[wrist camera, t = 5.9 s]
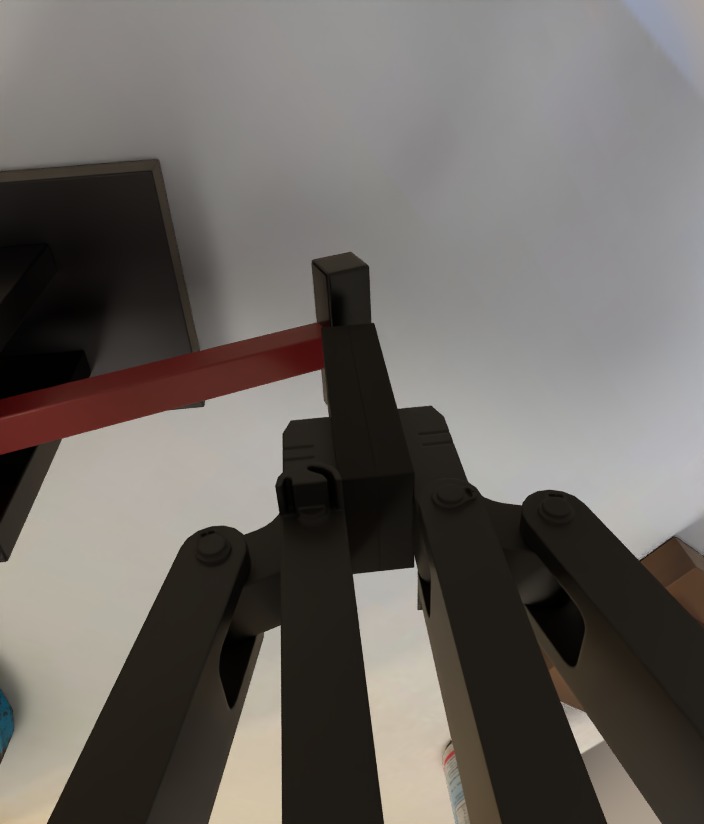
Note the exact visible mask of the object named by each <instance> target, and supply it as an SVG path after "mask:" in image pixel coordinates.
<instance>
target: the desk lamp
mask: <svg viewBox="0 0 704 824" xmlns="http://www.w3.org/2000/svg"><path fill="white" fill-rule="evenodd" d="M13 731H14V724H13V710H12V709H11V707H10V705H9V703H8V701H7V700H6V698H5V696H4V694H3V693H2V691H1V689H0V764H1V762H2V759H3V757H4V754H5V752H6V749H7V747H8V744H9V742H10V739H11V736H12V734H13Z"/></svg>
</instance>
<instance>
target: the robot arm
mask: <svg viewBox="0 0 704 824" xmlns="http://www.w3.org/2000/svg"><path fill="white" fill-rule="evenodd" d="M321 334H322V346H323V357H324V368H325V379H326V391H327V402H328V412H329V417H324V418H313V419H303V420H292V421H290V423H289V424H288V426H287V428H286V429H285V431H284V432H283V473H282V474H281V475H280V476H279V477H278V479H277V482H276V486H275V487H276V493H277V500H278V506H279V512H280V513H279V515H278V516H277V517H276V518H275V519H274V520H273V521H272V522H271V523H269V524H268V525H266V526H265V527H263V528H260V529H258V530H256V531H253V532H251V533H248V534H245V535H243V534H242V533H241V532H239V531H238V530H236V529H235V528H232V527H227V526H212V527H208V528H205V529H202V530H199V531H197V532H196V533H195V534H193V535H192V536H190V537H189V538H187V540H186V541H185V542H184V544H183V545H182V546H181V548H180V550H179V552H178V554H177V556H176V558H175V560H174V562H173V564H172V567H171V569H170V571H169V573H168V575H167V577H166V579H165V581H164V583H163V585H162V587H161V589H160V591H159V593H158V595H157V598H156V600H155V602H154V604H153V606H152V608H151V610H150V612H149V614H148V616H147V618H146V620H145V622H144V624H143V626H142V628H141V631H140V633H139V635H138V637H137V639H136V641H135V643H134V645H133V647H132V649H131V651H130V653H129V655H128V657H127V659H126V661H125V664H124V666H123V668H122V670H121V672H120V674H119V676H118V678H117V680H116V682H115V684H114V686H113V688H112V690H111V692H110V695H109V697H108V699H107V701H106V703H105V705H104V707H103V709H102V711H101V713H100V715H99V717H98V719H97V721H96V723H95V725H94V728H93V730H92V732H91V734H90V736H89V738H88V740H87V742H86V744H85V746H84V748H83V750H82V752H81V754H80V756H79V758H78V761H77V763H76V765H75V767H74V769H73V771H72V773H71V775H70V777H69V779H68V781H67V783H66V785H65V787H64V789H63V792H62V794H61V796H60V798H59V800H58V802H57V804H56V806H55V808H54V810H53V812H52V814H51V816H50V818H49V820H48V822H47V824H208V822H209V819H210V816H211V812H212V809H213V806H214V802H215V799H216V796H217V792H218V789H219V785H220V782H221V779H222V775H223V772H224V769H225V765H226V762H227V759H228V755H229V752H230V749H231V745H232V742H233V738H234V735H235V732H236V728H237V725H238V722H239V718H240V715H241V712H242V708H243V705H244V702H245V698H246V695H247V691H248V688H249V685H250V681H251V678H252V675H253V671H254V668H255V665H256V661H257V658H258V655H259V651H260V648H261V644H262V641H263V638H264V632H265V631H268V630H270V629H272V628H275V627H277V626H280V625H281V726H282V824H384V820H383V812H382V804H381V796H380V788H379V780H378V772H377V764H376V756H375V748H374V740H373V733H372V725H371V717H370V709H369V701H368V693H367V685H366V677H365V669H364V661H363V653H362V645H361V637H360V629H359V621H358V613H357V605H356V597H355V590H354V582H353V574H357V573H367V572H376V571H385V570H394V569H403V568H413V567H414V556H415V560H416V564H417V568H418V610H423V613H424V617H425V622H426V626H427V631H428V635H429V640H430V644H431V649H432V653H433V658H434V662H435V667H436V671H437V676H438V680H439V685H440V689H441V694H442V698H443V703H444V707H445V712H446V716H447V721H448V725H449V730H450V734H451V739H452V744H453V748H454V753H455V757H456V762H457V766H458V771H459V775H460V780H461V784H462V789H463V793H464V798H465V802H466V807H467V811H468V816H469V820H470V824H607V822H606V819H605V817H604V814H603V811H602V809H601V807H600V803H599V801H598V798H597V796H596V793H595V790H594V788H593V785H592V783H591V780H590V777H589V775H588V772H587V769H586V767H585V764H584V762H583V759H582V757H581V754H580V751H579V749H578V746H577V743H576V741H575V738H574V736H573V733H572V730H571V728H570V725H569V722H568V720H567V717H566V715H565V712H564V709H563V707H562V704H561V702H560V699H559V696H558V694H557V691H556V688H555V686H554V683H553V681H552V678H551V675H550V673H549V670H548V668H547V665H546V662H545V660H544V657H543V655H542V652H541V649H540V647H539V645H540V646H541V648H542V649H543V651H544V652H545V654H546V655H547V656H548V658H549V659H550V661H551V662H552V664H553V665H554V667H555V668H556V670H557V671H558V673H559V674H560V675H561V677H562V678H563V680H564V681H565V683H566V684H567V686H568V687H569V689H570V690H571V692H572V693H573V694H574V696H575V697H576V699H577V700H578V702H579V703H580V705H581V706H582V708H583V709H584V711H585V712H586V713H587V715H588V716H589V718H590V719H591V721H592V722H593V724H594V725H595V727H596V728H597V729H598V731H599V732H600V734H601V735H602V737H603V738H604V740H605V741H606V742H607V744H608V746H609V747H610V748H611V750H612V751H613V753H614V754H615V756H616V757H617V759H618V760H619V762H620V763H621V764H622V766H623V767H624V769H625V770H626V772H627V773H628V775H629V776H630V778H631V779H632V781H633V782H634V784H635V785H636V786H637V788H638V789H639V791H640V792H641V794H642V795H643V797H644V798H645V800H646V801H647V803H648V804H649V805H650V807H651V808H652V810H653V811H654V813H655V814H656V816H657V817H658V819H659V820H660V822H661V823H662V824H704V628H703V627H702V626H701V625H700V624H699V623H698V622H697V621H696V620H695V619H694V618H693V617H692V616H691V615H690V613H689V612H688V611H687V610H686V609H685V608H684V607H683V606H682V605H681V604H680V603H679V602H678V601H677V600H676V599H675V598H674V597H673V596H672V595H671V594H670V593H669V592H668V590H667V589H666V588H665V587H664V586H663V585H662V584H661V583H660V582H659V581H658V580H657V579H656V578H655V577H654V576H653V575H652V574H651V573H650V572H649V571H648V570H647V569H646V567H645V566H644V565H643V564H642V563H641V562H640V561H639V560H638V559H637V558H636V557H635V556H634V555H633V554H632V553H631V552H630V551H629V550H628V549H627V548H626V547H625V546H624V544H623V543H622V542H621V541H620V540H619V539H618V538H617V537H616V536H615V535H614V534H613V533H612V532H611V531H610V530H609V529H608V528H607V527H606V526H605V525H604V524H603V523H602V521H601V520H600V519H599V518H598V517H597V516H596V515H595V514H594V513H593V512H592V511H591V510H590V509H589V508H588V507H587V506H586V505H585V504H584V503H583V502H582V501H580V500H579V499H578V498H576V497H575V496H573V495H570V494H568V493H565V492H563V491H555V490H544V491H537V492H535V493H533V494H531V495H529V496H528V497H527V498H526V499H525V501H524V502H523V504H522V506H521V505H513V504H506V503H500V502H495V501H492V500H490V499H487V498H484V497H483V496H482V495H481V494H480V492H479V491H478V489H477V488H476V487H475V486H473V485H472V484H470V483H469V482H468V480H467V478H466V475H465V472H464V470H463V467H462V464H461V462H460V459H459V456H458V453H457V451H456V448H455V445H454V443H453V440H452V437H451V435H450V433H449V429H448V426H447V424H446V421H445V418H444V416H443V415H441V414H440V413H439V412H438V411H437V410H436V409H435V408H433V407H432V406H423V407H413V408H402V409H397V406H396V402H395V398H394V395H393V391H392V387H391V384H390V380H389V376H388V373H387V369H386V365H385V361H384V358H383V354H382V350H381V347H380V343H379V339H378V336H377V332H376V328H375V325H374V323H368V324H357V325H346V326H335V327H324V328H321ZM538 643H539V644H538Z"/></svg>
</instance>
